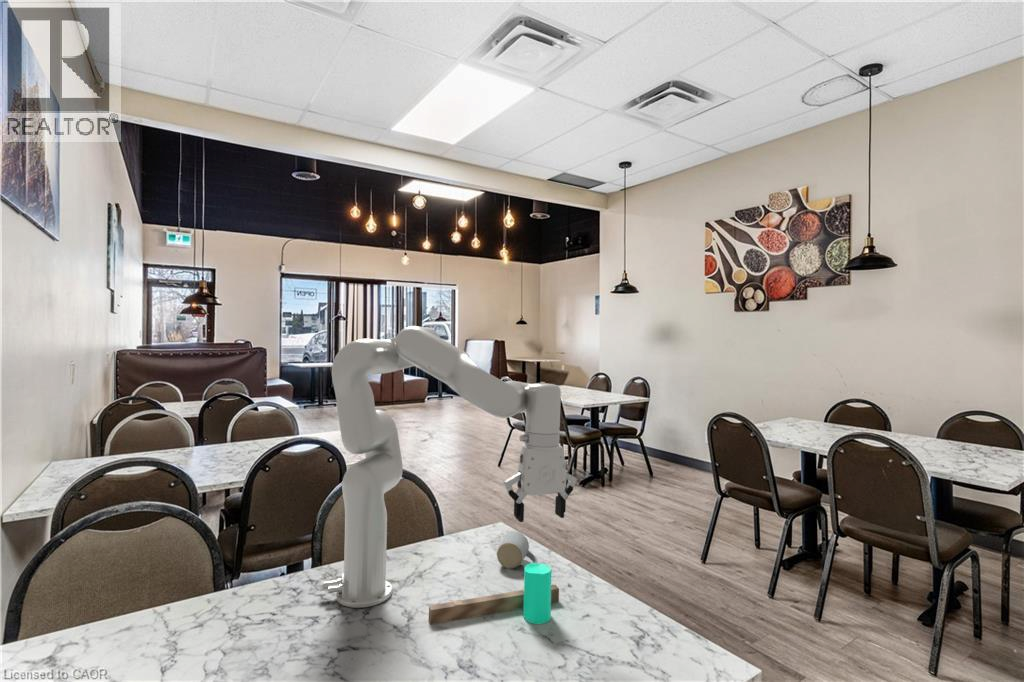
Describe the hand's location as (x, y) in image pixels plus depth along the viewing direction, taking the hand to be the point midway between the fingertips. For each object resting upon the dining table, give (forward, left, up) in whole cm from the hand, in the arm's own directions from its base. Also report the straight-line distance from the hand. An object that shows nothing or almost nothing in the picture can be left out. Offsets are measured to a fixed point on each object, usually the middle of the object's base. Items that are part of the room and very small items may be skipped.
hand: (539, 518), depth 109 cm
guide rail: (-8, +5, -21) cm, 23 cm away
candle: (0, 0, -22) cm, 22 cm away
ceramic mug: (+6, +26, -22) cm, 35 cm away
